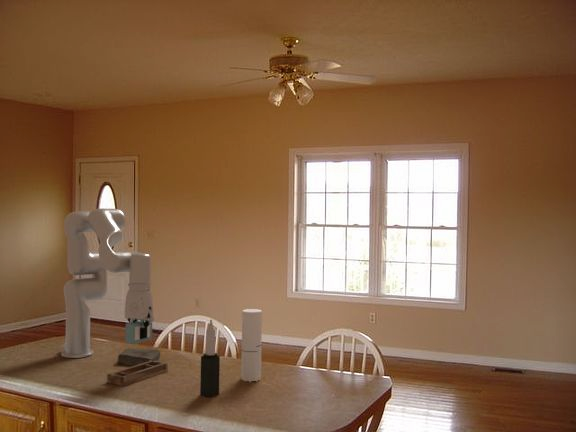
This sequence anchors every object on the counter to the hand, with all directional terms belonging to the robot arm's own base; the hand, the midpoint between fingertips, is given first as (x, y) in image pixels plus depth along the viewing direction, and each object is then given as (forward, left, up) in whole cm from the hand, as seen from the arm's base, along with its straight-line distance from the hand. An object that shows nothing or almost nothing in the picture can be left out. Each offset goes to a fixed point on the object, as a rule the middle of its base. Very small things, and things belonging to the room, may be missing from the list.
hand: (139, 337), depth 207 cm
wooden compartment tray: (0, 0, -14) cm, 14 cm away
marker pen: (+34, -2, -15) cm, 37 cm away
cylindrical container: (+36, +20, -15) cm, 44 cm away
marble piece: (-14, +15, -15) cm, 26 cm away
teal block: (0, 0, -1) cm, 1 cm away
